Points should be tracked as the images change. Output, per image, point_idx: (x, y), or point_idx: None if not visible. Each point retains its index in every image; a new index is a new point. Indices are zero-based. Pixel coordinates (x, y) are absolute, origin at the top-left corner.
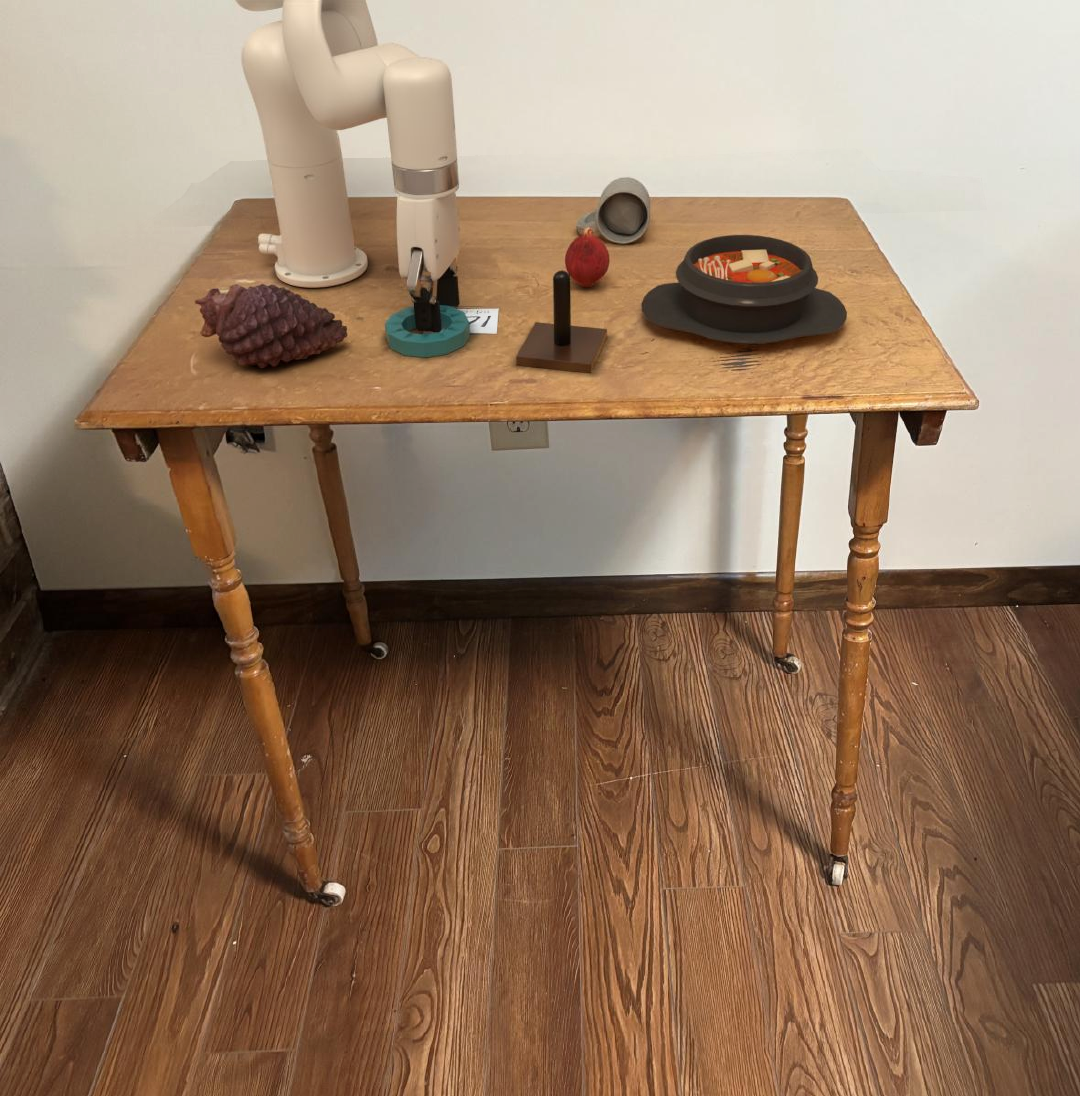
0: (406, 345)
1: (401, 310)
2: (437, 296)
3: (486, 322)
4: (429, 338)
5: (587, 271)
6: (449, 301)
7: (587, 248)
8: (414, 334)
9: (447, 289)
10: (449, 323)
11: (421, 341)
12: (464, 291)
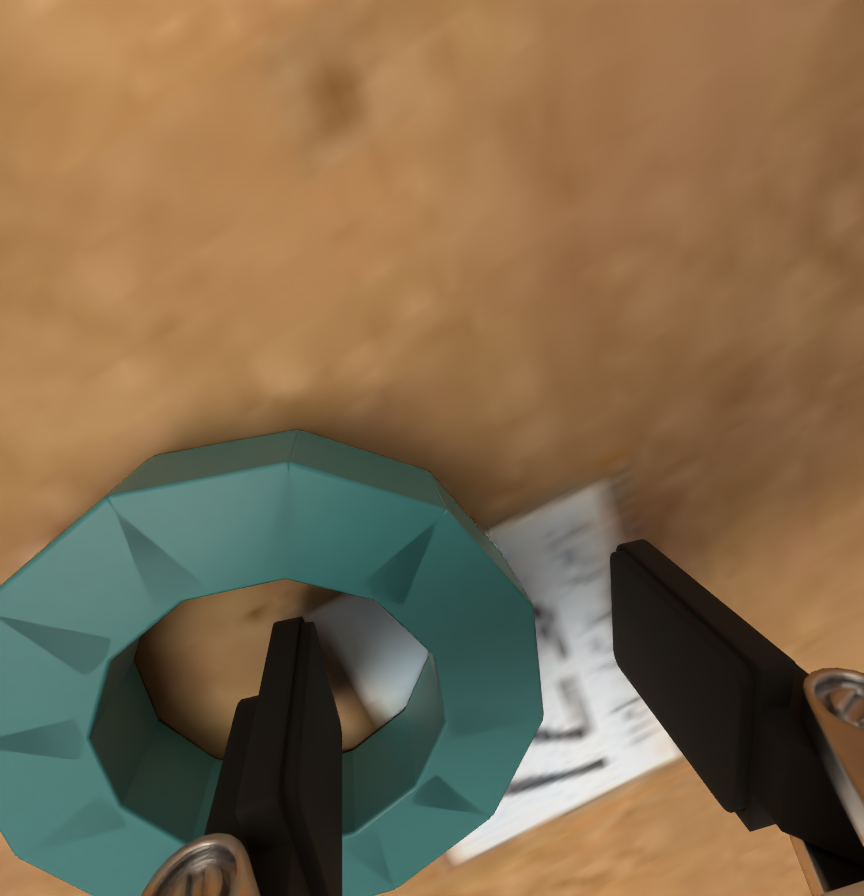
0: None
1: (373, 493)
2: (642, 597)
3: (545, 781)
4: (90, 851)
5: None
6: (629, 645)
7: None
8: (83, 757)
9: (677, 700)
10: (410, 740)
11: (19, 841)
12: (829, 541)
